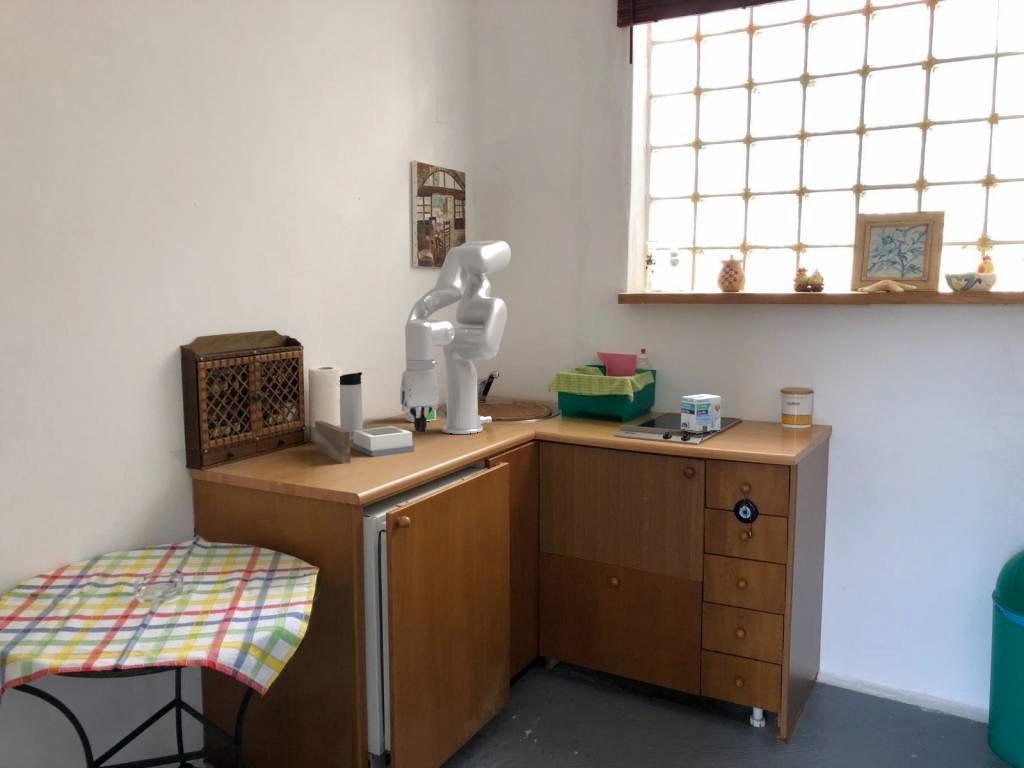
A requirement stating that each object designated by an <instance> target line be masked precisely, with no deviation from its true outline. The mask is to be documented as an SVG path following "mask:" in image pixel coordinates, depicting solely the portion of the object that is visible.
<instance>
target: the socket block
mask: <svg viewBox="0 0 1024 768" xmlns="http://www.w3.org/2000/svg"><path fill="white" fill-rule="evenodd" d="M351 444H352V445H351V448H352V449H353V450H356V451H359V452H361V453H364V454H366V455H368V456H371V457H373V458H374V457H381V456H389V455H397V454H403V453H410V452H411V453H412V452H415V445H413V432H412V431H409V430H406V429H403V428H401V427H397V426H395V425H390V426H382V427H372V428H363V429H362V430H353V442H352V443H351Z"/></svg>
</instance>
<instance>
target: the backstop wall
mask: <svg viewBox="0 0 1024 768" xmlns="http://www.w3.org/2000/svg"><path fill="white" fill-rule="evenodd" d="M314 436H315V451H316V452H319V453H321V454H323V455H325V456H327V457H329V458H331V459H333V460H335V461H337V462H339V463H341V464H349V463H351V443H350V434H349V431H346V430H344V429H341V428H340V427H339V426H337V425H334V424H331V423H329V422H326V421H324V420H316V421H314Z"/></svg>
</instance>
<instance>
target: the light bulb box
mask: <svg viewBox="0 0 1024 768" xmlns="http://www.w3.org/2000/svg"><path fill="white" fill-rule="evenodd" d="M680 411H681V412H680V413H681V414H680V415H681V416H680V418H681V419H680V420H681V421H680V430H681V429H685V430H693V431H710V430H720V431H721V421H722V419H721V417H722V416H721V414H722V413H721V412H722V396H720V395H715V394H714V395H713V394H708V393H703V394H693V395H685V396H681V410H680Z"/></svg>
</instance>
